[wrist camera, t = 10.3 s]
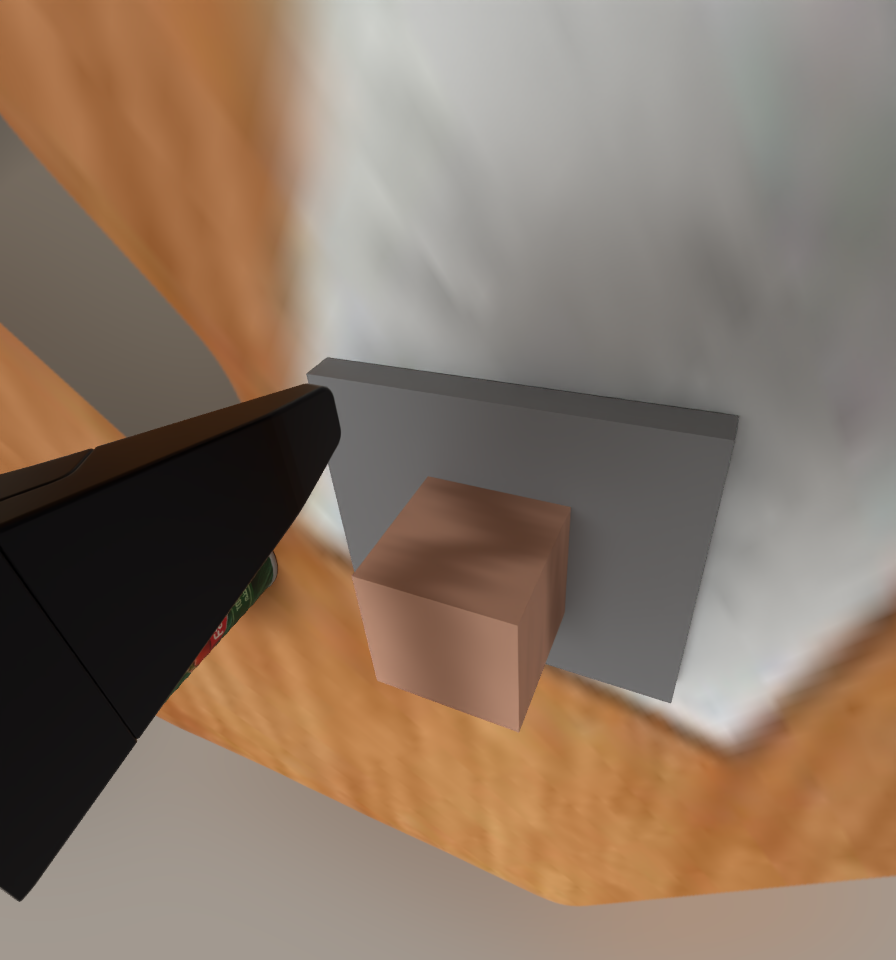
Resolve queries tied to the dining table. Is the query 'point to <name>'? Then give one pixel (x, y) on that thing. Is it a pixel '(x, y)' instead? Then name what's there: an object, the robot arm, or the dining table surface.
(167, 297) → the dining table surface
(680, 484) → the charcoal board
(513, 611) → the terracotta cube
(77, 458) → the robot arm
